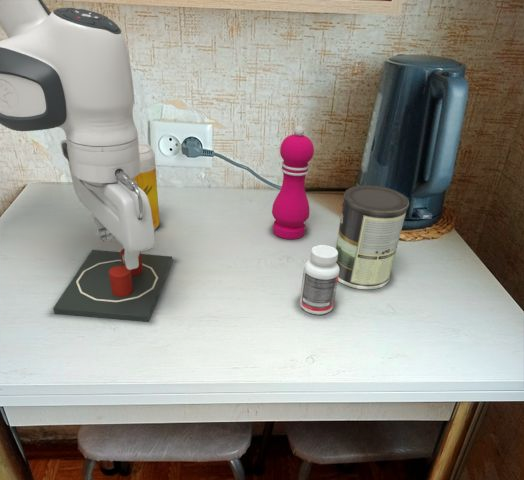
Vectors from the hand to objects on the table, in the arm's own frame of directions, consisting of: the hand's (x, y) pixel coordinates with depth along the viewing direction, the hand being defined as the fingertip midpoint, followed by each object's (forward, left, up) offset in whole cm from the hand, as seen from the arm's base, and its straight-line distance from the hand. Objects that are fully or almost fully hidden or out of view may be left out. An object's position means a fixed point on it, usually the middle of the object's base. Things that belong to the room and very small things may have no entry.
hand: (118, 252), depth 75 cm
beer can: (-2, +23, -8) cm, 25 cm away
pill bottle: (+31, +1, -8) cm, 31 cm away
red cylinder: (0, +6, -6) cm, 9 cm away
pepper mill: (+26, +26, -8) cm, 37 cm away
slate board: (-1, +2, -7) cm, 8 cm away
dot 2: (0, -1, -6) cm, 6 cm away
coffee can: (+39, +12, -8) cm, 41 cm away
